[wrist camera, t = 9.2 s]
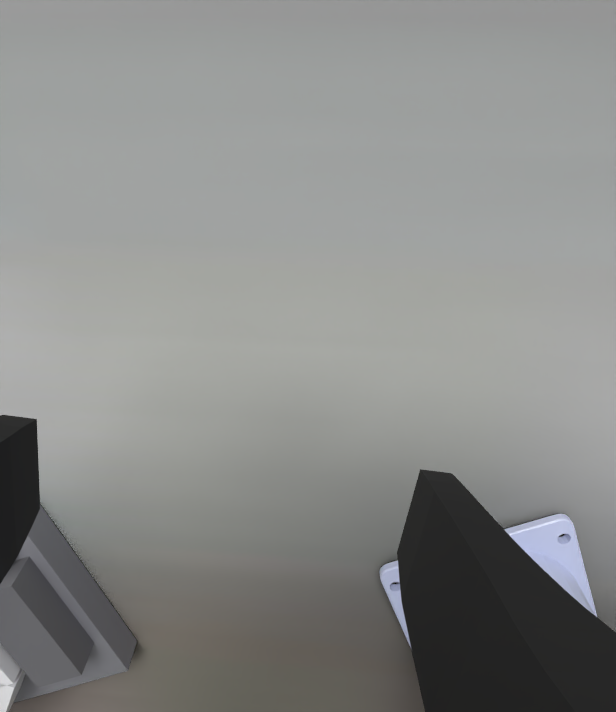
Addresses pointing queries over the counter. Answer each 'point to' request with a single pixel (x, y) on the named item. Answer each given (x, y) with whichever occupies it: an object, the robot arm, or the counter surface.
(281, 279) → the counter surface
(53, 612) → the grey square plate
